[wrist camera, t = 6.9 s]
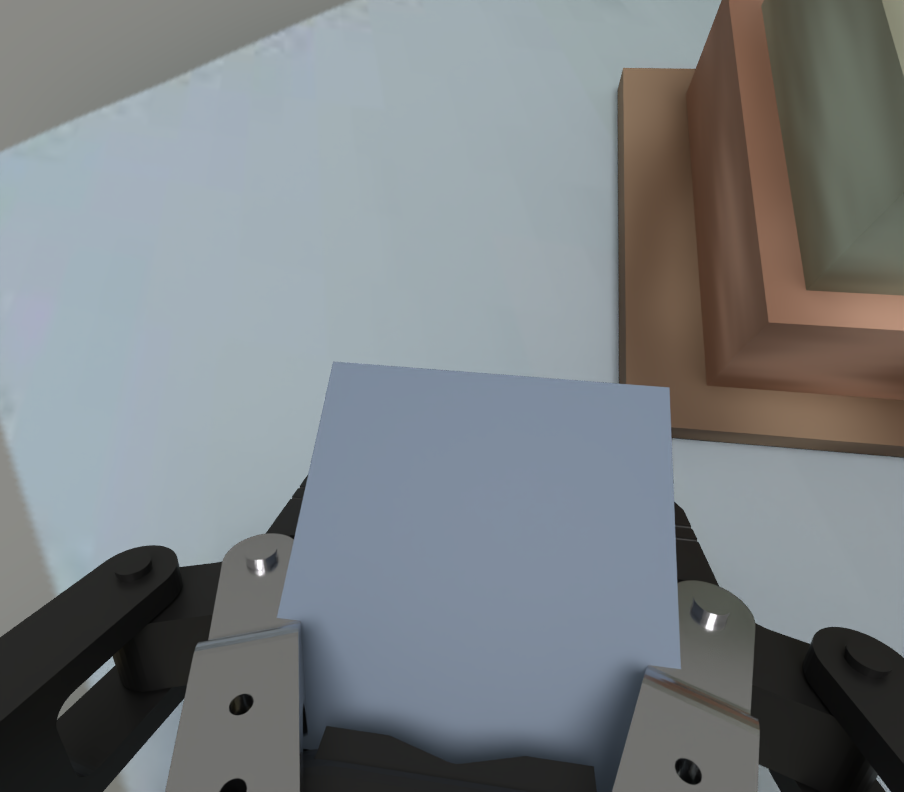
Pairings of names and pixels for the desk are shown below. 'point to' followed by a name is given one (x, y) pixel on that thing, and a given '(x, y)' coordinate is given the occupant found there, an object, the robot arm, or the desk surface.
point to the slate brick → (485, 562)
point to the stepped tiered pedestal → (770, 228)
